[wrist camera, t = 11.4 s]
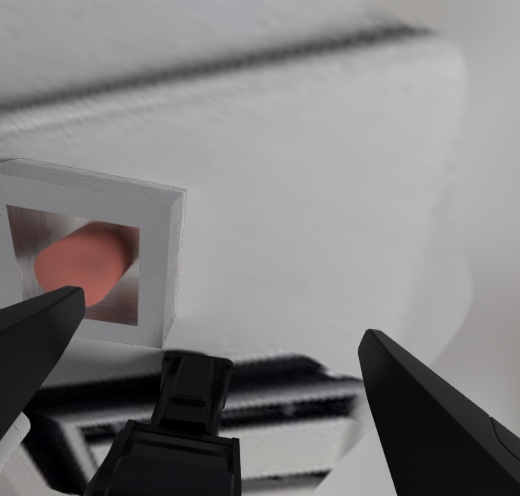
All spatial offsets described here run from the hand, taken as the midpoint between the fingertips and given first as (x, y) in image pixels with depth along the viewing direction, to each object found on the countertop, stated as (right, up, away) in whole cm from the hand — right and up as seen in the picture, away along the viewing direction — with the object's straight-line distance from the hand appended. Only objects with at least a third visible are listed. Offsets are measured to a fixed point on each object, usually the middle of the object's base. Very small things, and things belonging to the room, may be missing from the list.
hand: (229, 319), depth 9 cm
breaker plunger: (-11, +2, +11) cm, 16 cm away
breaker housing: (-11, +2, +13) cm, 17 cm away
